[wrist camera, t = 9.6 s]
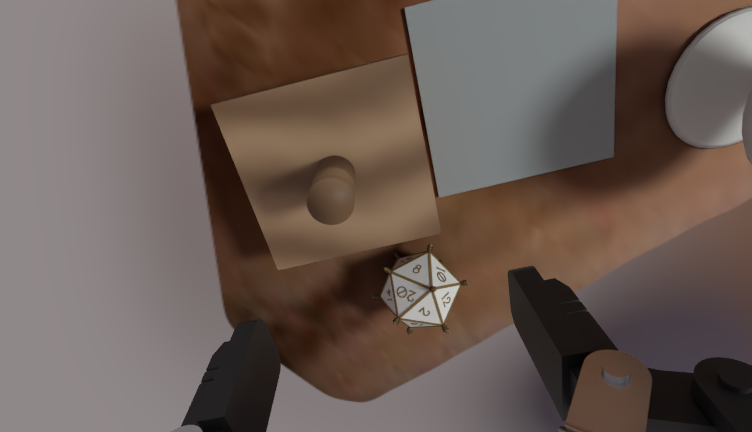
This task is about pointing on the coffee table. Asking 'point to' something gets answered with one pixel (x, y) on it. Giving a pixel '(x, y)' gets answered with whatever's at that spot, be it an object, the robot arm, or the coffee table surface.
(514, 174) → the mat
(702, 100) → the chalice
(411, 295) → the game die
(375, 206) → the lid
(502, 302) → the coffee table surface
